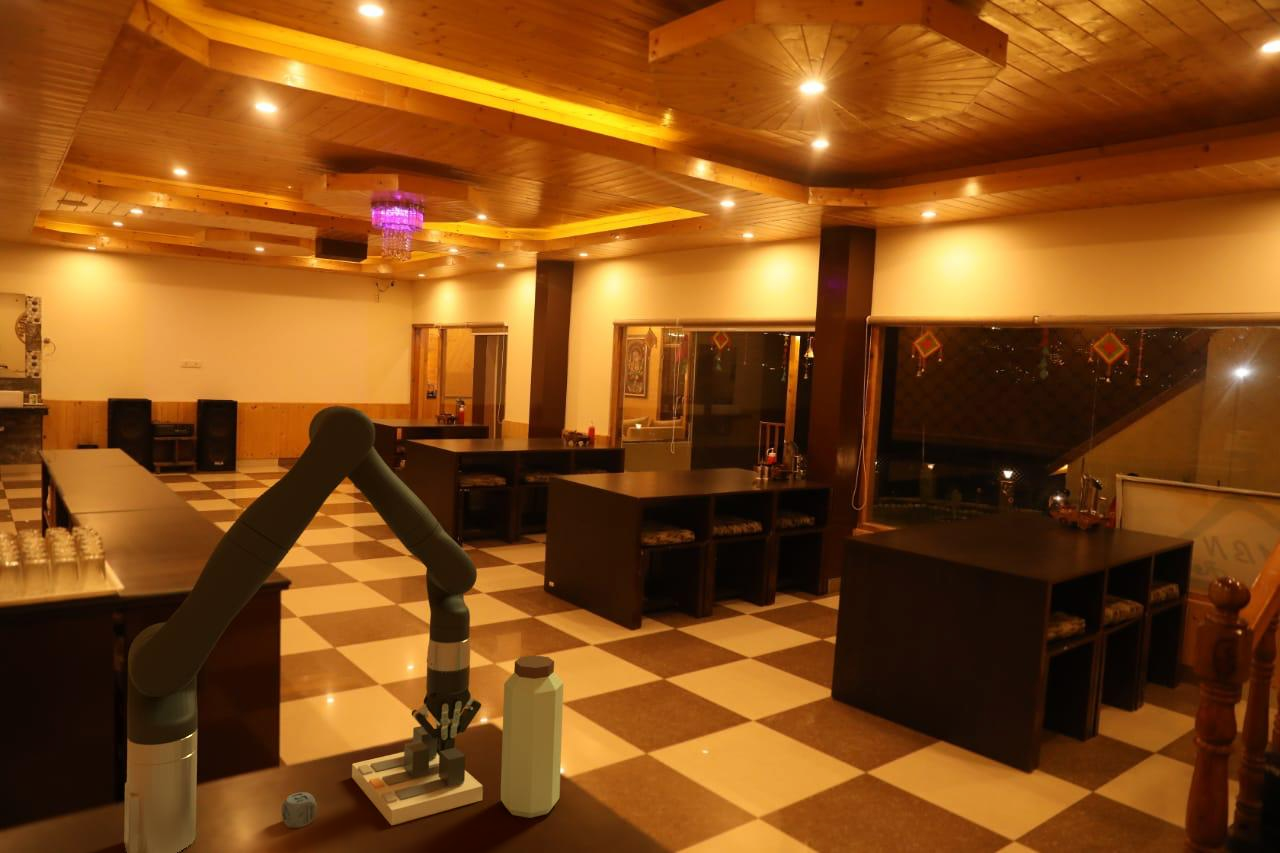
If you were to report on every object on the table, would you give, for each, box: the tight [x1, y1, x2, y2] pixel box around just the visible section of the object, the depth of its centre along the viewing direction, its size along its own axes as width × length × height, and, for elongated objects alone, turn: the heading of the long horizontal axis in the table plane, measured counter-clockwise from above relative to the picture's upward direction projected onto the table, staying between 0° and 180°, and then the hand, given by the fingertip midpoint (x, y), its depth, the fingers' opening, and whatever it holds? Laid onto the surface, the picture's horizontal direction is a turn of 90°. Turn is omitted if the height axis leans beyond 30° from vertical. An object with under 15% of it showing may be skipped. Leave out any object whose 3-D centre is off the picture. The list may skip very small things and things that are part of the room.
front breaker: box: [439, 747, 466, 786], centre depth 147 cm, size 3×4×4 cm
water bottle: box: [500, 654, 564, 819], centre depth 144 cm, size 10×10×25 cm
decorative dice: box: [280, 791, 318, 829], centre depth 137 cm, size 4×4×4 cm
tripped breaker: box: [403, 740, 429, 778], centre depth 149 cm, size 3×4×4 cm
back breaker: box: [412, 725, 437, 758], centre depth 156 cm, size 3×4×4 cm
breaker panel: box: [351, 751, 484, 826], centre depth 149 cm, size 16×20×3 cm
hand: (445, 757), depth 152 cm, fingers closed
